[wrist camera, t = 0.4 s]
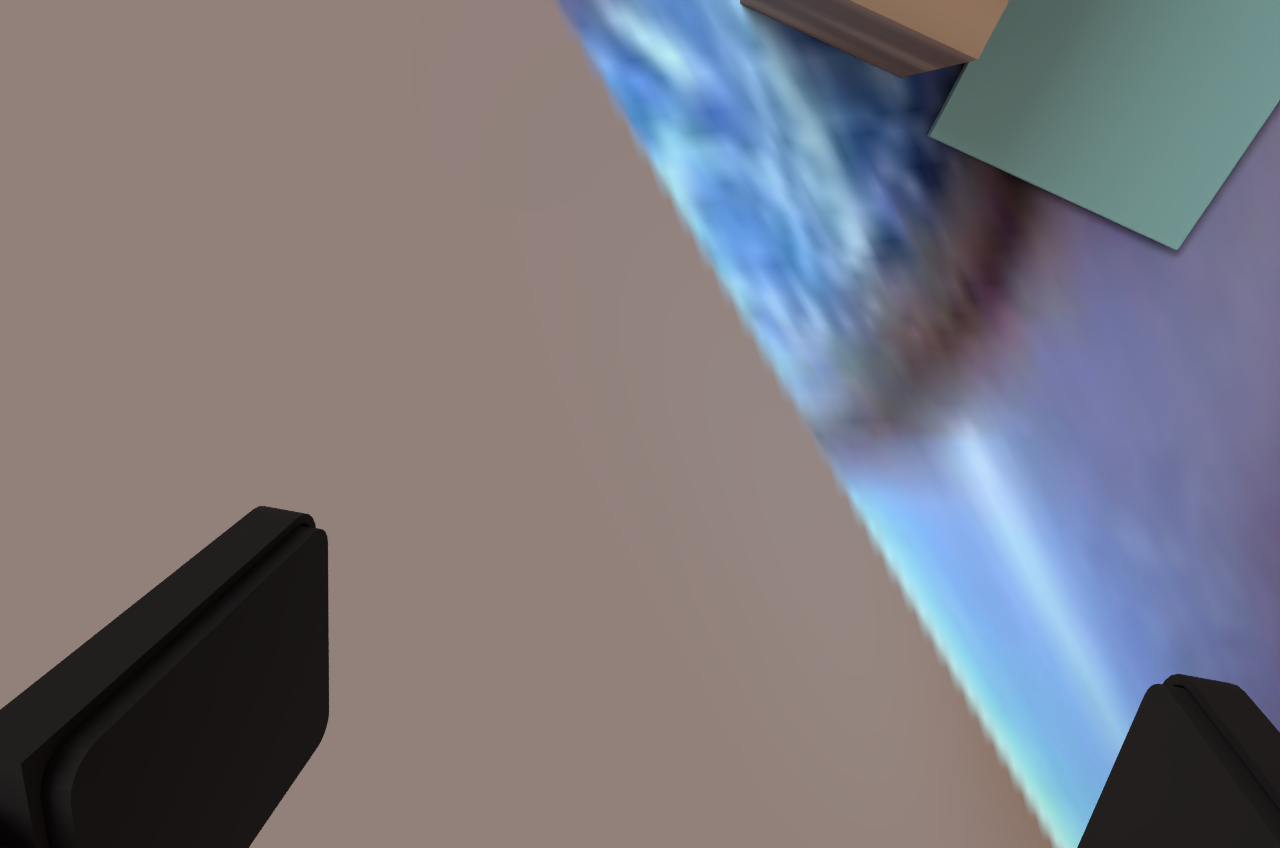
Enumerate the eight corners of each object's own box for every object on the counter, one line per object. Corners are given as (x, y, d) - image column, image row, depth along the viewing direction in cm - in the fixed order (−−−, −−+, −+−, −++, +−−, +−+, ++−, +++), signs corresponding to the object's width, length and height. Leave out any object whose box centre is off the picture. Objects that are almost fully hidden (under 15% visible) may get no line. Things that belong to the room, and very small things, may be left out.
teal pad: (1086, -166, 29) (1093, -172, 29) (1362, -36, 30) (1373, -38, 29) (926, 135, 33) (929, 136, 33) (1170, 248, 34) (1177, 250, 33)
